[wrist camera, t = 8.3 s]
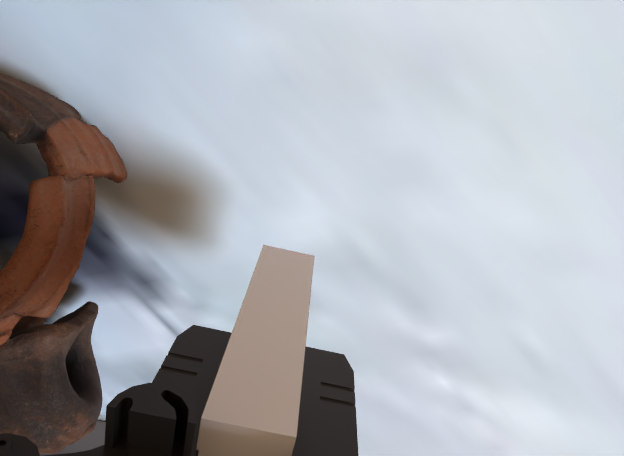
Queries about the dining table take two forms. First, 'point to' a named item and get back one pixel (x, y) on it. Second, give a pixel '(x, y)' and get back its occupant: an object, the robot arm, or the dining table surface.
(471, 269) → the dining table surface
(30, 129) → the pottery mug
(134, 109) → the dining table surface
